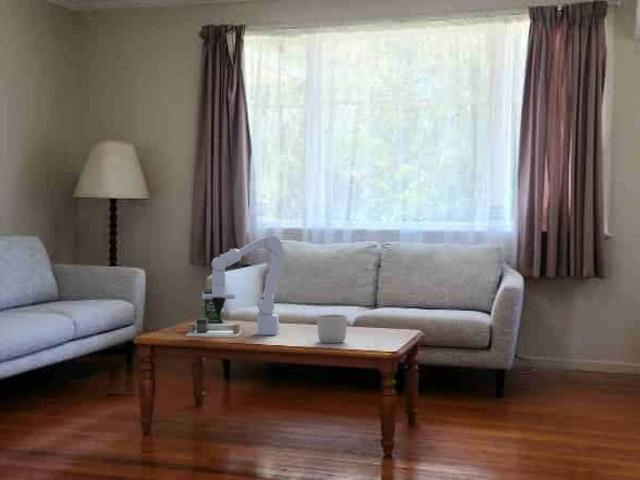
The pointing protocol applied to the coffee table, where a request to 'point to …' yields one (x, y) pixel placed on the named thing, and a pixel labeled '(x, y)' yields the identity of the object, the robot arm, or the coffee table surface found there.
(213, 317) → the coffee jar
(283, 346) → the coffee table surface
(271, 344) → the coffee table surface
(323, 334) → the planter
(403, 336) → the coffee table surface
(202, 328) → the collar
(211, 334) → the rail
